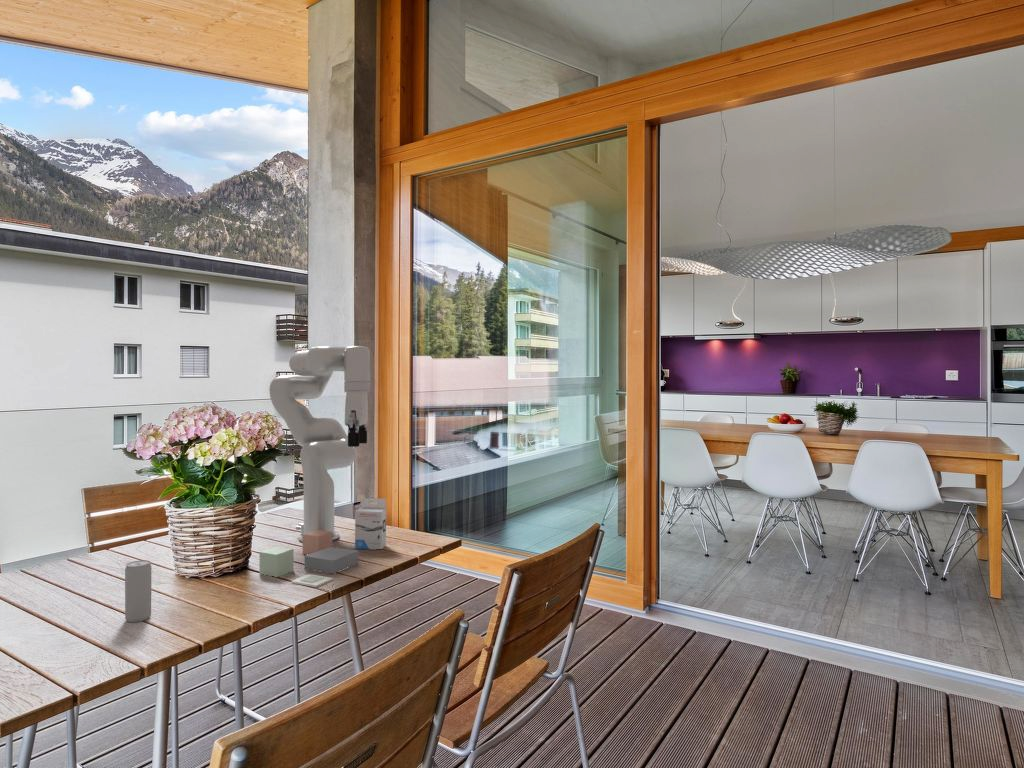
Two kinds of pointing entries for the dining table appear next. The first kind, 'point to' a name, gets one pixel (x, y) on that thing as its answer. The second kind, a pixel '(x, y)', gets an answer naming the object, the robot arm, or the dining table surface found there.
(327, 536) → the brick cube
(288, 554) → the sage cube
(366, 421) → the robot arm
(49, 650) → the dining table surface
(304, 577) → the card
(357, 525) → the ink box
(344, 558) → the slate base block
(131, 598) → the beverage can
